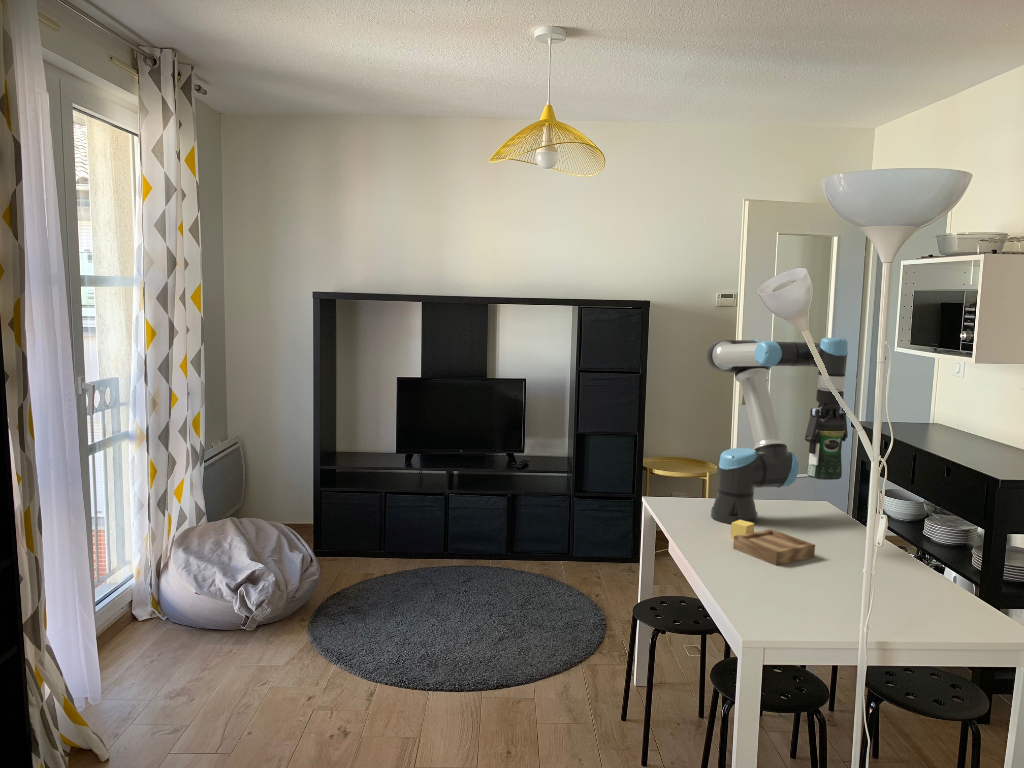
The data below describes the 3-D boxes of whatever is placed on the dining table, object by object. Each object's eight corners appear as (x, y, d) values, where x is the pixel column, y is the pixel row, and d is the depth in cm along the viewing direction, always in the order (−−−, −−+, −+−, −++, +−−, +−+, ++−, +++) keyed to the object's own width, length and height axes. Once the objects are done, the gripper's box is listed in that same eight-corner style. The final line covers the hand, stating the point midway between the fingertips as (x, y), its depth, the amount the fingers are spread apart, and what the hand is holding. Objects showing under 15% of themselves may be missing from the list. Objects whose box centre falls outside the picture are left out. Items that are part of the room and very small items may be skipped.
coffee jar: (832, 474, 245) (837, 415, 242) (844, 481, 237) (850, 419, 234) (802, 474, 244) (807, 414, 242) (813, 480, 236) (818, 419, 234)
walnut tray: (770, 541, 242) (771, 529, 242) (814, 557, 228) (815, 544, 228) (733, 548, 234) (734, 535, 233) (775, 565, 220) (776, 552, 220)
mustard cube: (738, 535, 248) (739, 519, 247) (753, 539, 244) (754, 523, 244) (730, 538, 244) (731, 522, 244) (745, 542, 241) (746, 526, 240)
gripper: (843, 386, 246) (837, 457, 248) (795, 389, 235) (789, 463, 237) (864, 389, 239) (858, 462, 242) (816, 392, 228) (810, 468, 231)
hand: (824, 462), depth 240 cm, fingers closed on coffee jar, 9 cm apart
